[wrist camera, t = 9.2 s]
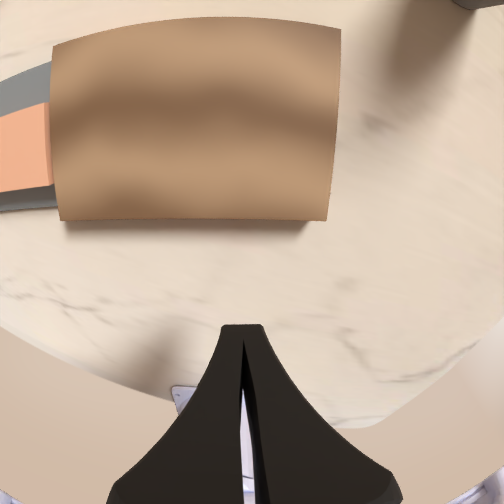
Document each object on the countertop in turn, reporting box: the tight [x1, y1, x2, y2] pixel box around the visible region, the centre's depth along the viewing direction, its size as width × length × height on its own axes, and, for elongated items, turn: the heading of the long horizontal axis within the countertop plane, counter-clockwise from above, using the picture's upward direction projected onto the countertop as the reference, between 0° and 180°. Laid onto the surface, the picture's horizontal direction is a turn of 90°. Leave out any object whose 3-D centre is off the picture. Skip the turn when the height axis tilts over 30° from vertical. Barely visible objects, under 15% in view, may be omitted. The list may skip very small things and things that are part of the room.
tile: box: [0, 102, 54, 192], centre depth 13 cm, size 8×5×2 cm, turn 87°
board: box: [50, 17, 341, 221], centre depth 14 cm, size 11×16×2 cm
